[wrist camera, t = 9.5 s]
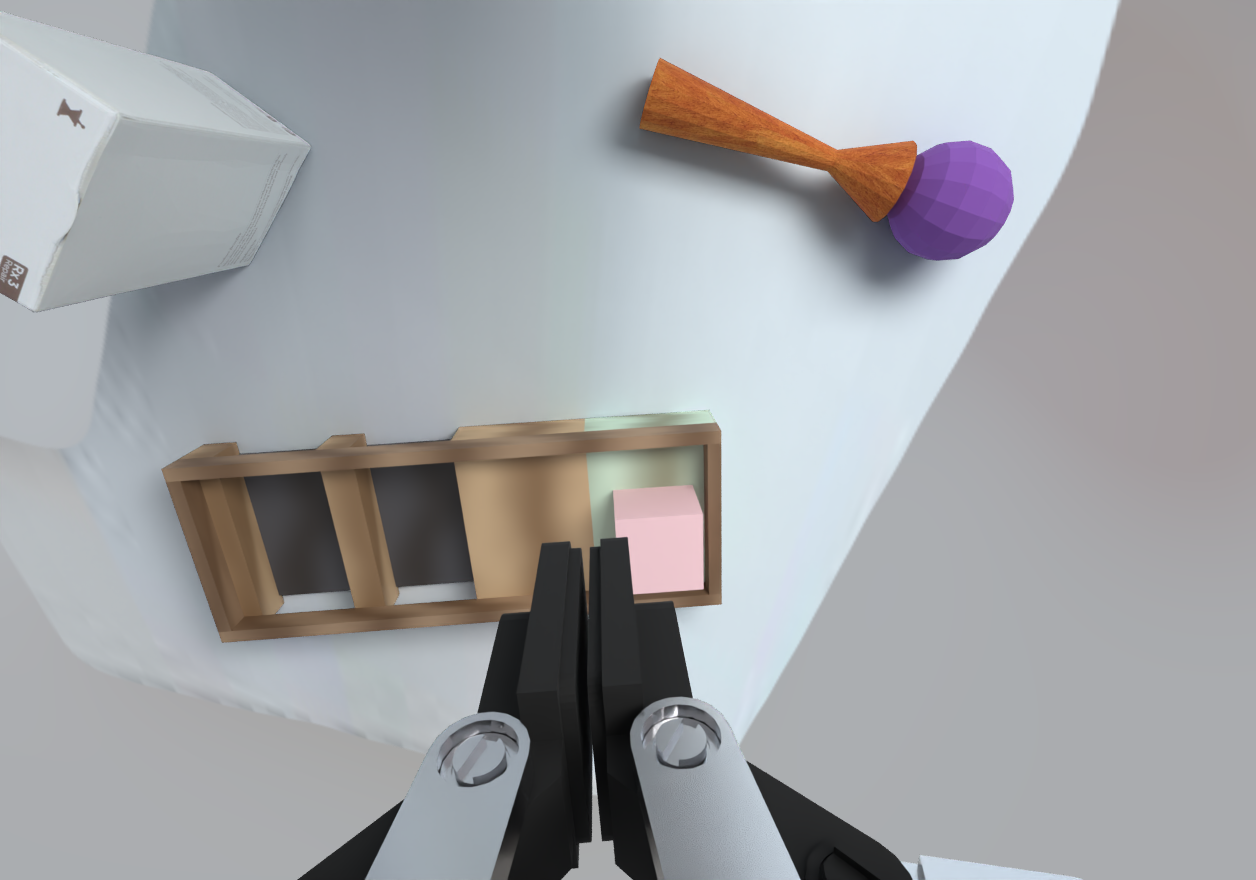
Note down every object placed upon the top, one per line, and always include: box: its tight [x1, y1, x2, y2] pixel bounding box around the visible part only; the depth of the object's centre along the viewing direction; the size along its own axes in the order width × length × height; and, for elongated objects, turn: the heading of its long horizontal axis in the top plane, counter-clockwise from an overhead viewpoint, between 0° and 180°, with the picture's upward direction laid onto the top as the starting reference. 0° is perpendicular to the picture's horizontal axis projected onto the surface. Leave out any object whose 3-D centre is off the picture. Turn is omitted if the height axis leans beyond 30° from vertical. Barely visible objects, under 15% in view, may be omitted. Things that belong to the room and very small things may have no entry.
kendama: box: [640, 58, 1014, 260], centre depth 32 cm, size 6×6×20 cm
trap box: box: [161, 410, 722, 643], centre depth 39 cm, size 32×12×4 cm, turn 93°
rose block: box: [613, 485, 704, 594], centre depth 37 cm, size 5×5×4 cm
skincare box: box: [0, 11, 311, 312], centre depth 26 cm, size 8×6×15 cm
